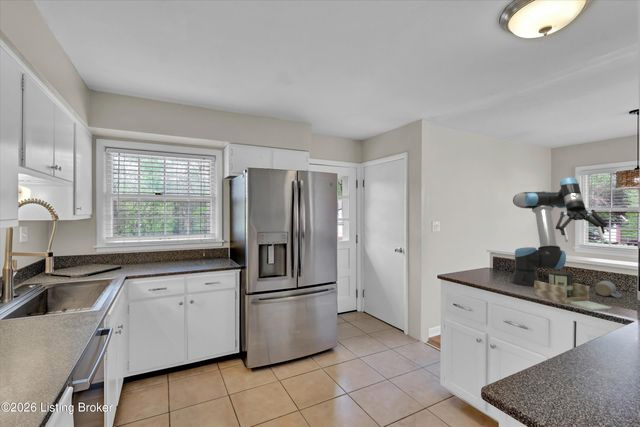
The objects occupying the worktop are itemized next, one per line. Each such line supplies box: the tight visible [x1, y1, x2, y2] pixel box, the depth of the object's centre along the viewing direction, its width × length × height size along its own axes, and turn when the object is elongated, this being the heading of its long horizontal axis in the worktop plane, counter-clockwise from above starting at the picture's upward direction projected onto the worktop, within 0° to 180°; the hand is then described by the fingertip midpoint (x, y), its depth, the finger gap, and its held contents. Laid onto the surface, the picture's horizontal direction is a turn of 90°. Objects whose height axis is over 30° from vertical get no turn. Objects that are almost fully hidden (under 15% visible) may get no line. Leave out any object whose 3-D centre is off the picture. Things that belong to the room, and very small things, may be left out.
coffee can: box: [548, 270, 574, 298], centre depth 164 cm, size 10×10×14 cm
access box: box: [533, 280, 590, 305], centre depth 164 cm, size 17×16×8 cm
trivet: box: [569, 300, 613, 311], centre depth 150 cm, size 11×11×1 cm
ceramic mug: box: [594, 280, 623, 299], centre depth 167 cm, size 11×8×8 cm
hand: (584, 240), depth 149 cm, fingers open, 13 cm apart
